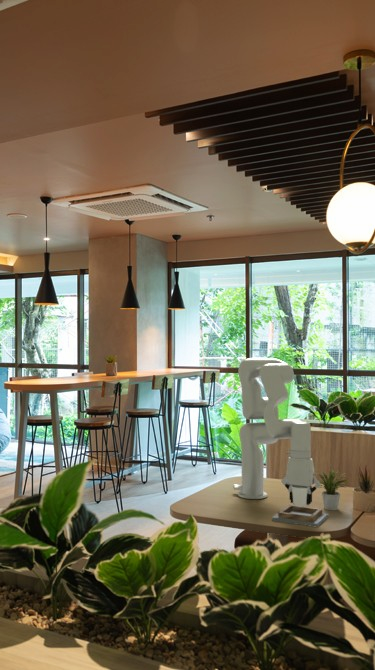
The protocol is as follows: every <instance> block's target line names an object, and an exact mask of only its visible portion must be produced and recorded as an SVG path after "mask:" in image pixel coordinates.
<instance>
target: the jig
mask: <svg viewBox="0 0 375 670" xmlns="http://www.w3.org/2000/svg"><path fill="white" fill-rule="evenodd" d="M328 518H329V513H324V512H323V508H317V507H312V506H311V507H309V506H304V507H301V506H295V505H293V504H288V505H287V506H286V507H284V508H282V509H281V510H280V511H279V512H278V513H276V514H275V515H273V516H272V518H271V521H273V522H279V521H282V522H281V523H285V522H288V524H292V523H297V524H296V525H299V524H306V525H311V526H310V527H313V526H316V527H315V528H318V527H319V526H320V525H321V524H323V522H324V521H326V520H327V519H328ZM306 525H305V526H306Z"/></svg>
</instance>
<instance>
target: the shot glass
mask: <svg viewBox="0 0 375 670" xmlns="http://www.w3.org/2000/svg"><path fill="white" fill-rule="evenodd" d="M307 494H308V488H307V487H305V486H296V485H294V486H292V495H293V503H292V505H295V506H301V507H309V505H307Z"/></svg>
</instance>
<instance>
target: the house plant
mask: <svg viewBox="0 0 375 670" xmlns="http://www.w3.org/2000/svg"><path fill="white" fill-rule="evenodd" d="M331 467H332V466H331ZM331 467H330V468H329V472H328V473H329V477H328V475H327V474H326V472H325V471H321V472H322V473H321V472H317V473H316V472H315V475H316V474H317V475H318V476H319V477H320V478H321V479H322V480H318V481H319V483H320V484H321V486H319V487H318V489H321V488H323V489H325V490H324V491H322V492H321V494H322V501H323V508H324V509H325V510H327V511H337V510H338V509H339V504H340V503H339V501H340V498H341V493H340V492H339V491H338V489H340V488H347V484H342V483H345V482H351V480H349V479H343V480H340V479H342V478H345V476H344V474H346V472H344V473H341V474H339V476H338V477H337V478H336V479H335V477H336V476H337V474H338V472H340V469H338V470H337V471H336V472H335V469H332V468H331Z"/></svg>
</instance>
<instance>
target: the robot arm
mask: <svg viewBox="0 0 375 670" xmlns="http://www.w3.org/2000/svg"><path fill="white" fill-rule="evenodd" d="M237 373H238V378H239V383H240V386H241V409H242V415H243V418H244V419H246V420H251V421H252V420H264V422H261V421H259V422H247V423H244V424H242V425H241V427H240V428H239V435H238V436H239V440H240V448H241V483H240V484H235V483H234V484H233V486H232V487H233V490H236V491H237V490H238V491H239V492H237V496H238V497H240V498H241V499H248V500H261V499H266V498H268V493H267V492H265V491H264V488H265V487H264V486H265V485H264V480H265V479H264V478H265V477H264V476H265V475H264V471H265V469H264V459H265V458H264V457H265V456H264V452H263V451H262V449H261V448H260V446H259V445H272V444H275V443H277V442H278V440H286V439H287V440H288V439H290V449H289V450H287V451H286V454H287V455H289V457H288V459H287V462H286V463H287V464H286V473H285V474H286V475H285V476H284V477H282V479H281V480H280V483H281V484H282V485H284V487H285V488H286V489H287V490H288V491H287V492H288V493H289V501H290V503H291V504H293V495H292V486H294V485H296V486H305V487H307V488H308V494H307V505H308V506H309V505H310V504H311V503H312V502H313V493H314V492H315V491H316V490H317V489H319V487H322V486H321V485H322V483H320V482H319V481H320V480H318V479H317V477H316V476H315V475H316V472H315V466H314V460H313V458H312V457H311V456H312V449H311V447H312V446H311V444H312V443H311V442H312V440H311V439H312V434H311V433H312V431H311V429H312V427H311V423H309V422H308V421H303V420H301V419H299V418H283V419H281V418H280V419H279V417H280V415H279V406H278V405H281V404H283V403H284V402H286V401H287V399H289V392H288V389H287V387H286V384H291V383H292V382H293V381H294V378H295V373H294V369H293V367H292V366H291V365H290V364H289V363H287V362H285V361H282V360H281V359H278V358H275V357H274V358H273V357H249V358H245V359H243V360H241V362H240V363H239V365H238V372H237ZM257 378H260V382H261V383H262V386H263V390H264V392H265V395H266V397H263V395H262V386H261V384H260V383H259V380H257ZM313 485H314V486H313Z"/></svg>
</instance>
